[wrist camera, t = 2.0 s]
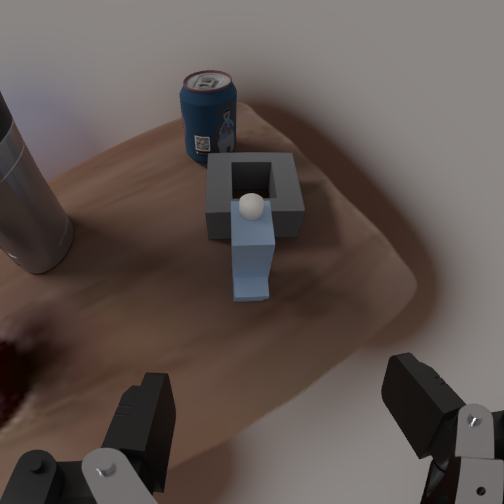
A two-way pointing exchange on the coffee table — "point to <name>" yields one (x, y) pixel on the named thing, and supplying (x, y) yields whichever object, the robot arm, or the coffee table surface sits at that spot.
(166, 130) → the coffee table surface
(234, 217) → the block
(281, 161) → the grey block with hole
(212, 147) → the soda can
